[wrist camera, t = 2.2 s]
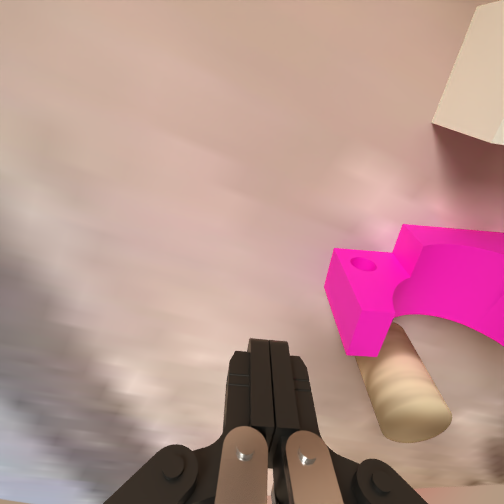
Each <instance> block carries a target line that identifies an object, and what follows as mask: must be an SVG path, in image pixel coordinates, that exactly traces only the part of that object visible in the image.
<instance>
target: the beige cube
mask: <svg viewBox="0 0 504 504" xmlns="http://www.w3.org/2000/svg"><path fill="white" fill-rule="evenodd" d="M432 123H434V124H437V125H439V126H442V127H445V128H448V129H451V130H454V131H457V132H460V133H463V134H466V135H469V136H472V137H475V138H478V139H480V140H483V141H486V142H489V143H494V144H500V145H504V0H501V1H497V2H492V3H488V4H484V5H480V6H477V8H476V11H475V13H474V16H473V18H472V21H471V23H470V26H469V28H468V31H467V34H466V36H465V39H464V41H463V44H462V46H461V49H460V51H459V54H458V56H457V59H456V62H455V64H454V67H453V69H452V72H451V74H450V77H449V79H448V82H447V85H446V87H445V90H444V92H443V95H442V97H441V100H440V102H439V105H438V107H437V110H436V113H435V115H434V118H433V120H432Z"/></svg>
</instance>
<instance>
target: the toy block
mask: <svg viewBox="0 0 504 504" xmlns="http://www.w3.org/2000/svg"><path fill="white" fill-rule="evenodd" d="M324 288H325V291H326V294H327V297H328V300H329V304H330V307H331V310H332V313H333V316H334V319H335V322H336V325H337V328H338V331H339V334H340V337H341V340H342V343H343V346H344V349H345V352H346V355H352V356H368V357H377V356H378V354H379V351H380V349H381V347H382V344H383V342H384V339H385V337H386V335H387V332H388V330H389V327H390V325H391V323H392V320H393V318H395V317H398V316H402V315H409V314H422V315H431V316H436V317H441V318H445V319H448V320H452V321H455V322H458V323H460V324H463V325H465V326H468V327H470V328H472V329H474V330H476V331H478V332H481V333H482V334H484V335H486V336H488V337H490V338H491V339H493V340H495V341H496V342H498V343H499V344H501V345H502V346H504V233H500V232H488V231H476V230H465V229H453V228H442V227H430V226H418V225H407V224H403V225H402V228H401V230H400V233H399V236H398V239H397V241H396V244H395V247H394V250H393V252H392V253H389V252H376V251H364V250H352V249H339V248H334V250H333V254H332V258H331V262H330V266H329V269H328V273H327V277H326V281H325V285H324Z"/></svg>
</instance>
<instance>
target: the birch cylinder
mask: <svg viewBox="0 0 504 504" xmlns="http://www.w3.org/2000/svg"><path fill="white" fill-rule="evenodd" d="M355 358H356V361H357V364H358V366H359V369H360V372H361V375H362V378H363V380H364V383H365V386H366V389H367V392H368V395H369V397H370V400H371V403H372V406H373V409H374V412H375V414H376V417H377V420H378V423H379V426H380V428H381V431H382V433H383V435H384V436H385V437H386V438H388V439H390V440H392V441H395V442H401V443H414V442H420V441H424V440H428V439H430V438H433V437H435V436H437V435H439V434H440V433H442V432H443V431H444V430H446V429H447V427H448V426H449V425H450V423H451V421H452V414H451V412H450V410H449V408H448V406H447V405H446V403H445V401H444V399H443V398H442V396H441V394H440V392H439V391H438V389H437V387H436V385H435V384H434V382H433V380H432V378H431V377H430V375H429V373H428V371H427V370H426V368H425V366H424V364H423V363H422V361H421V359H420V357H419V356H418V354H417V352H416V350H415V349H414V347H413V345H412V343H411V341H410V340H409V338H408V336H407V334H406V333H405V331H404V329H403V328H402V327H401V326H400V325H398V324H396V323H394V322H392V323H391V325H390V327H389V330H388V332H387V335H386V337H385V339H384V342H383V344H382V347H381V349H380V351H379V354H378V356H377V357H368V356H355Z"/></svg>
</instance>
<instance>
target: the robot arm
mask: <svg viewBox="0 0 504 504" xmlns="http://www.w3.org/2000/svg"><path fill="white" fill-rule="evenodd" d="M268 468H271V469H273V478H274V483H273V486H272V490H271V498H272V504H428V503H427V502H426V501H424V499H423V498H421V496H420V495H419V494H418V493H417V492H416V491H415V490H414V489H413V488H412V487H411V486H410V485H409V484H408V483H407V482H406V481H405V480H404V479H403V478H402V477H401V476H400V475H399V474H398V473H397V472H396V471H394V470H393V469H392V468H391V467H390V466H389V465H388V464H386V463H384V462H382V461H380V460H377V459H367V460H364V461H363V462H362V463H361V464H358V463H356V462H354V461H351V460H349V459H346V458H344V457H342V456H340V455H338V454H336V453H335V452H333V451H332V450H331V449H330V448H329V447H328V446H327V445H326V444H325V442H324V441H323V439H322V438H321V435H320V433H319V429H318V424H317V418H316V413H315V408H314V403H313V397H312V392H311V387H310V382H309V376H308V371H307V367H306V366H305V364H304V362H303V361H302V359H301V358H300V356H290V354H289V347H288V342H286V341H275V340H269V341H268V340H263V339H253V338H250V339H249V344H248V349H247V352H243V351H235V353H234V355H233V356H232V358H231V360H230V363H229V370H228V376H227V383H226V394H225V408H224V422H223V433H222V435H221V436H220V438H219V439H218V440H217V441H216V442H215V443H213V444H212V445H210V446H207V447H205V448H201V449H198V450H194V451H191V450H190V449H189V448H187V447H185V446H183V445H177V444H176V445H169V446H167V447H164V448H163V449H161V450H160V451H158V452H157V453H156V454H155V455H154V456H153V457H152V458H151V459H150V460H149V461H148V462H147V463H146V464H144V465H143V466H142V467H141V468H140V469H139V470H138V471H137V472H136V473H135V474H134V475H133V476H132V477H131V478H130V479H129V480H128V481H126V482H125V483H124V484H123V485H122V486H121V487H120V488H119V489H118V490H117V491H116V492H115V493H114V494H113V495H112V496H111V497H110V498H109V499H107V500H106V501H105V502H104V503H103V504H267V474H268Z"/></svg>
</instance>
